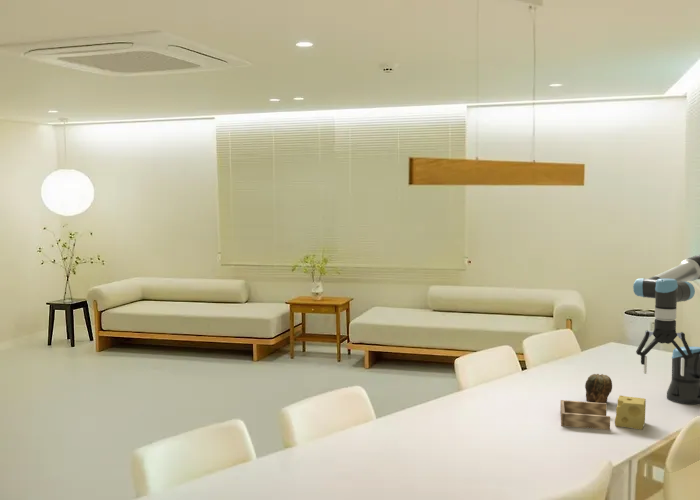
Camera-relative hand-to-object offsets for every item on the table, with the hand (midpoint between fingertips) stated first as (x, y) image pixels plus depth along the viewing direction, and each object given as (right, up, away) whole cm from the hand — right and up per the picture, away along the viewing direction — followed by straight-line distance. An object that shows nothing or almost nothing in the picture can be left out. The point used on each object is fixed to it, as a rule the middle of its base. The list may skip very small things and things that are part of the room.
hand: (663, 374), depth 270 cm
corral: (-27, -20, +9) cm, 35 cm away
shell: (-13, -18, +35) cm, 41 cm away
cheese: (-11, -21, +5) cm, 24 cm away
